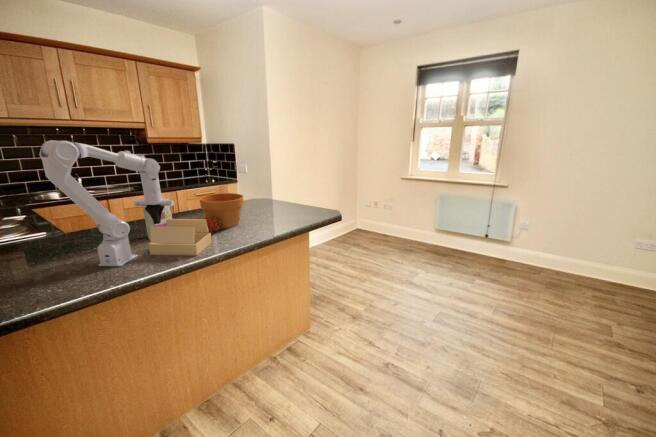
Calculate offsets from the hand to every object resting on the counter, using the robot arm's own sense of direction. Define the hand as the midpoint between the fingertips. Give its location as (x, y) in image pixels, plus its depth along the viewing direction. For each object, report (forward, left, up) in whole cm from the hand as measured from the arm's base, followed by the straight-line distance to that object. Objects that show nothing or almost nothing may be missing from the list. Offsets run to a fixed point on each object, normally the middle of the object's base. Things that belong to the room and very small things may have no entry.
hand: (157, 223), depth 114 cm
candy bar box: (+14, +8, -11) cm, 19 cm away
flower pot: (+33, -14, -11) cm, 38 cm away
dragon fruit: (+20, -12, -11) cm, 26 cm away
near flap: (-7, -9, -3) cm, 12 cm away
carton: (-1, -9, -10) cm, 14 cm away
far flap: (+5, -9, -3) cm, 11 cm away
